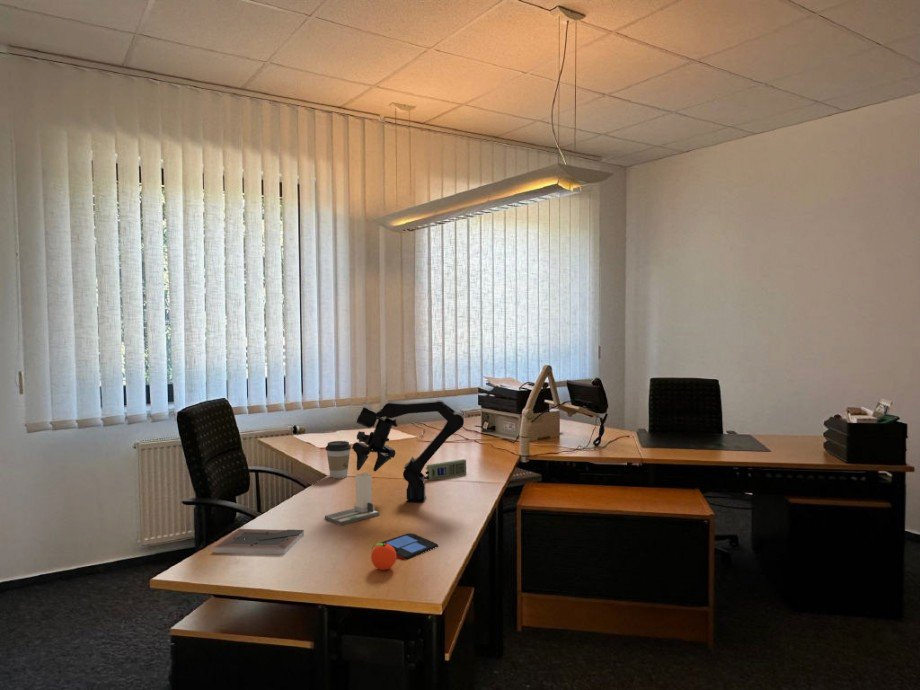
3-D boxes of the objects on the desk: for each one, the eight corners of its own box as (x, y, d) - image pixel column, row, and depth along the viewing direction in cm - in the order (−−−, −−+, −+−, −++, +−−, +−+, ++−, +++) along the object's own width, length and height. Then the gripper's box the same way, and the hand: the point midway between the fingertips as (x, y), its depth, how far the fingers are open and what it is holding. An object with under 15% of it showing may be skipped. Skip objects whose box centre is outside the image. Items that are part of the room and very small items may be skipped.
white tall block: (366, 506, 225) (365, 472, 224) (378, 511, 219) (377, 475, 219) (354, 509, 221) (353, 474, 221) (366, 514, 216) (365, 478, 215)
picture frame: (304, 537, 199) (239, 535, 201) (303, 529, 199) (239, 528, 201) (284, 556, 183) (214, 554, 185) (284, 548, 183) (214, 546, 185)
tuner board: (363, 508, 227) (363, 505, 227) (379, 514, 220) (379, 511, 220) (324, 518, 216) (324, 515, 216) (340, 525, 209) (340, 521, 209)
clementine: (363, 569, 171) (362, 544, 171) (379, 561, 177) (379, 536, 177) (385, 576, 167) (385, 550, 166) (401, 567, 172) (401, 542, 172)
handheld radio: (467, 474, 278) (419, 483, 264) (463, 473, 280) (415, 481, 266) (467, 459, 278) (418, 467, 264) (462, 458, 280) (414, 466, 266)
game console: (404, 562, 178) (404, 554, 178) (375, 551, 186) (375, 543, 186) (439, 548, 188) (439, 540, 188) (410, 538, 197) (410, 531, 197)
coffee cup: (346, 480, 268) (345, 445, 268) (321, 479, 271) (320, 444, 270) (355, 473, 279) (355, 440, 279) (331, 472, 282) (331, 440, 281)
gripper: (383, 426, 249) (369, 462, 250) (350, 422, 234) (335, 460, 235) (402, 438, 242) (387, 475, 243) (369, 434, 228) (353, 473, 228)
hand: (366, 470), depth 237 cm, fingers open, 9 cm apart
